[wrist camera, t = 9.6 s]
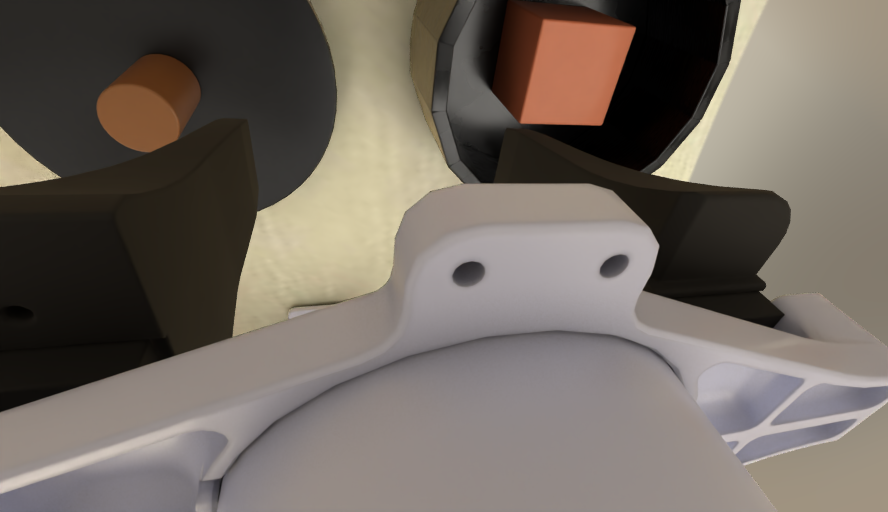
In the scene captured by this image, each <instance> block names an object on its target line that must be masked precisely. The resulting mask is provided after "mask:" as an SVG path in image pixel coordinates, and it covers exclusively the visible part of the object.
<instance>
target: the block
mask: <svg viewBox="0 0 888 512" xmlns="http://www.w3.org/2000/svg"><path fill="white" fill-rule="evenodd" d="M635 30H636V27H635V26H633V25H630V24H628V23H625V22H623V21H620V20H618V19H616V18H613V17H611V16H608V15H606V14H603V13H601V12H598V11H596V10H594V9H591V8H589V7H580V6H570V5H560V4H550V3H540V2H530V1H519V0H508V2H507V8H506V14H505V19H504V25H503V30H502V36H501V42H500V47H499V53H498V59H497V64H496V70H495V75H494V81H493V87H492V93H493V94H494V95H495V96H496V97H497V99H498V100H499V101H500V102H501V103H502V104H503V105H504V106H505V108H506V109H507V110H508V111H509V112H510V113H511V114H512V115H513V117H514V118H515V119H516V120H517V121H518V122H519V123H520V124H557V125H598V126H601V125H602V124H603V121H604V118H605V115H606V112H607V110H608V107H609V104H610V101H611V98H612V95H613V92H614V90H615V87H616V84H617V81H618V78H619V75H620V73H621V70H622V67H623V64H624V61H625V58H626V55H627V53H628V50H629V47H630V44H631V41H632V38H633V36H634V33H635Z"/></svg>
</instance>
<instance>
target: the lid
mask: <svg viewBox="0 0 888 512" xmlns="http://www.w3.org/2000/svg"><path fill="white" fill-rule="evenodd" d="M336 105H337V88H336V79H335V70H334V64H333V60H332V56H331V52H330V47H329V44H328V42H327V39H326V36H325V33H324V31H323V28H322V25H321V23H320V21H319V19H318V17H317V15H316V13H315V11H314V9H313V7H312V5H311V3H310V1H309V0H0V127H1V128H2V129H3V130H4V131H5V132H6V133H7V134H8V135H9V136H10V137H11V138H12V139H13V140H14V141H15V142H16V143H17V144H18V145H19V146H21V147H22V148H23V149H24V150H25V151H26V152H28V153H29V154H30V155H31V156H32V157H33V158H35V159H36V160H37V161H38V162H40V163H41V164H43V165H44V166H45V167H47V168H48V169H50V170H51V171H52V172H54V173H55V174H57V175H58V176H60V177H61V178H64V177H69V176H73V175H77V174H81V173H85V172H89V171H93V170H98V169H102V168H106V167H109V166H113V165H116V164H119V163H122V162H125V161H128V160H131V159H134V158H137V157H140V156H142V155H145V154H147V153H150V152H152V151H154V150H156V149H158V148H161V147H163V146H165V145H167V144H169V143H171V142H174V141H176V140H178V139H180V138H182V137H184V136H186V135H188V134H189V133H191V132H193V131H195V130H197V129H199V128H201V127H203V126H204V125H206V124H208V123H210V122H212V121H215V120H217V119H221V118H232V119H248V124H249V130H250V137H251V143H252V149H253V155H254V161H255V168H256V174H257V180H258V186H259V193H258V205H257V211H260V210H262V209H265V208H267V207H269V206H271V205H274V204H275V203H277V202H279V201H280V200H282V199H283V198H285V197H287V196H288V195H290V194H291V193H292V192H293V191H294V190H296V189H297V188H298V187H299V186H301V185H302V184H303V182H304V181H305V180H306V179H307V178H308V177H309V176H310V175H311V174H312V172H313V171H314V170H315V168H316V167H317V165H318V164H319V162H320V161H321V159H322V157H323V155H324V153H325V151H326V149H327V147H328V144H329V141H330V138H331V135H332V132H333V128H334V122H335V116H336Z"/></svg>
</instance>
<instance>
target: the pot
mask: <svg viewBox="0 0 888 512" xmlns="http://www.w3.org/2000/svg"><path fill="white" fill-rule="evenodd" d="M519 1H530V2H540V3H550V4H560V5H570V6H580V7H589V8H591V9H594V10H596V11H598V12H601V13H603V14H606V15H608V16H611V17H613V18H616V19H618V20H620V21H623V22H625V23H628V24H630V25H633V26H635V27H636V30H635V33H634V36H633V38H632V41H631V44H630V47H629V50H628V53H627V55H626V58H625V61H624V64H623V67H622V70H621V73H620V75H619V78H618V81H617V84H616V87H615V90H614V92H613V95H612V98H611V101H610V104H609V107H608V110H607V112H606V115H605V118H604V121H603V124H602V125H601V126H598V125H557V124H520V123H519V122H518V121H517V120H516V119H515V118H514V117H513V115H512V114H511V113H510V112H509V111H508V110H507V109H506V108H505V106H504V105H503V104H502V103H501V102H500V101H499V100H498V99H497V97H496V96H495V95H494V94H493V93H492V87H493V81H494V75H495V70H496V64H497V59H498V53H499V47H500V42H501V36H502V30H503V25H504V19H505V14H506V8H507V2H508V0H417V4H416V7H415V10H414V13H413V21H412V29H411V37H410V74H411V77H412V80H413V83H414V86H415V90H416V94H417V96H418V99H419V102H420V105H421V108H422V111H423V114H424V117H425V120H426V122H427V124H428V126H429V128H430V130H431V132H432V134H433V136H434V138H435V141H436V143H437V145H438V147H439V149H440V151H441V153H442V155H443V157H444V159H445V161H446V163H447V165H448V167H449V168H450V169H451V170H452V172H453V173H454V174H455V175H456V176H457V177H458V178H459V179H460V180H461V181H462V182H463V183H464V184H494V179H495V175H496V170H497V166H498V161H499V157H500V152H501V148H502V143H503V139H504V134H505V130H506V128H520V129H529V130H533V131H536V132H539V133H541V134H544V135H546V136H549V137H551V138H553V139H556V140H558V141H560V142H562V143H565V144H567V145H569V146H571V147H574V148H576V149H578V150H581V151H583V152H585V153H588V154H590V155H593V156H595V157H598V158H600V159H603V160H605V161H608V162H611V163H614V164H617V165H620V166H623V167H626V168H630V169H633V170H636V171H640V172H643V173H647V174H652V173H653V172H655V171H656V170H657V169H659V168H660V167H661V166H662V165H663V164H664V163H665V162H666V161H667V160H668V159H669V157H670V156H671V155H672V154H673V153H674V152H675V150H676V149H677V148H678V147H679V146H680V144H681V143H682V142H683V141H684V140H685V139H686V137H687V136H688V135H689V134H690V133H691V132H692V130H693V129H694V128H695V127H696V126H697V125H698V123H699V122H700V120H701V119H702V118H703V116H704V114H705V112H706V110H707V108H708V106H709V104H710V102H711V100H712V98H713V96H714V94H715V91H716V89H717V87H718V85H719V83H720V81H721V79H722V77H723V75H724V73H725V71H726V69H727V67H728V65H729V62H730V60H731V54H732V48H733V43H734V37H735V31H736V26H737V20H738V14H739V8H740V3H741V0H519Z"/></svg>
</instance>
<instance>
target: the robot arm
mask: <svg viewBox="0 0 888 512" xmlns="http://www.w3.org/2000/svg"><path fill="white" fill-rule="evenodd" d="M258 193H259V186H258V180H257V174H256V168H255V161H254V155H253V149H252V143H251V137H250V130H249V124H248V119H232V118H221V119H217V120H215V121H212V122H210V123H208V124H206V125H204V126H203V127H201V128H199V129H197V130H195V131H193V132H191V133H189V134H188V135H186V136H184V137H182V138H180V139H178V140H176V141H174V142H171V143H169V144H167V145H165V146H163V147H161V148H158V149H156V150H154V151H152V152H150V153H147V154H145V155H142V156H140V157H137V158H134V159H131V160H128V161H125V162H122V163H119V164H116V165H113V166H109V167H106V168H102V169H98V170H93V171H89V172H85V173H81V174H77V175H73V176H69V177H64V178H58V179H53V180H47V181H41V182H35V183H28V184H21V185H14V186H6V187H0V512H778V511H777V510H776V508H775V507H774V506H773V504H772V503H771V502H770V501H769V499H768V498H767V496H766V495H765V494H764V492H763V491H762V490H761V488H760V487H759V486H758V484H757V483H756V482H755V480H754V479H753V478H752V476H751V475H750V474H749V472H748V471H747V470H746V468H745V467H744V465H747V464H750V463H753V462H756V461H760V460H762V459H766V458H769V457H772V456H775V455H779V454H782V453H786V452H790V451H793V450H797V449H800V448H804V447H808V446H812V445H817V444H821V443H826V442H830V441H835V440H838V439H839V438H841V437H842V436H843V435H845V434H846V433H847V432H849V431H850V430H851V429H853V428H854V427H855V426H857V425H858V424H859V423H861V422H862V421H863V420H865V419H866V418H867V417H869V416H870V415H871V414H873V413H874V412H875V411H877V410H878V409H879V408H881V407H882V406H883V405H884V404H886V403H887V402H888V347H887V346H886V345H884V344H883V343H882V342H881V341H879V340H878V339H877V338H875V337H874V336H873V335H871V334H870V333H869V332H868V331H867V330H865V329H864V328H863V327H861V326H860V325H859V324H858V323H856V322H855V321H854V320H853V319H851V318H850V317H849V316H847V315H846V314H845V313H844V312H842V311H841V310H840V309H839V308H837V307H836V306H835V305H834V304H832V303H831V302H830V301H828V300H827V299H826V298H825V297H823V296H822V295H821V294H820V293H816V292H815V293H802V294H790V295H782V296H779V297H777V298H775V299H773V300H772V301H769V300H768V299H767V298H766V297H765V296H763V295H762V294H761V293H760V292H759V291H763V290H764V289H765V287H766V283H765V282H764V281H763V280H762V279H760V278H759V277H758V276H757V275H756V274H757V273H758V271H759V270H760V269H761V267H762V266H763V265H764V263H765V262H766V261H767V260H768V258H769V257H770V255H771V254H772V253H773V252H774V250H775V249H776V248H777V246H778V245H779V244H780V242H781V240H782V239H783V237H784V236H785V234H786V232H787V229H788V226H789V224H790V215H791V214H790V213H791V209H790V207H789V205H788V202H787V201H786V200H784V199H783V198H781V197H780V196H778V195H777V194H776V193H774V192H773V191H767V190H758V189H745V188H733V187H732V188H731V187H720V186H712V185H705V184H698V183H691V182H685V181H679V180H674V179H669V178H665V177H660V176H656V175H651V174H647V173H643V172H640V171H636V170H633V169H630V168H626V167H623V166H620V165H617V164H614V163H611V162H608V161H605V160H603V159H600V158H598V157H595V156H593V155H590V154H588V153H585V152H583V151H581V150H578V149H576V148H574V147H571V146H569V145H567V144H565V143H562V142H560V141H558V140H556V139H553V138H551V137H549V136H546V135H544V134H541V133H539V132H536V131H533V130H529V129H520V128H506V130H505V134H504V139H503V143H502V148H501V152H500V157H499V161H498V166H497V170H496V175H495V179H494V184H459V185H455V186H451V187H447V188H443V189H438V190H434V191H430V192H429V193H428V194H427V195H425V196H424V197H423V198H422V199H421V200H419V201H418V202H417V203H416V204H414V205H413V206H412V207H411V208H409V209H408V210H407V211H406V212H405V214H404V216H403V219H402V221H401V224H400V226H399V229H398V232H397V234H396V237H395V245H394V260H393V268H392V272H391V276H390V278H389V280H388V281H387V283H386V284H385V285H384V286H383V287H381V288H380V289H378V290H377V291H374V292H371V293H368V294H365V295H362V296H359V297H356V298H353V299H349V300H346V301H343V302H340V303H337V304H333V305H319V306H306V307H295V308H292V309H290V310H289V313H288V319H287V320H284V321H281V322H278V323H275V324H272V325H269V326H266V327H263V328H260V329H257V330H253V331H250V332H247V333H244V334H241V335H238V336H235V337H232V334H233V325H234V316H235V308H236V300H237V292H238V286H239V281H240V276H241V272H242V269H243V265H244V261H245V257H246V254H247V250H248V246H249V243H250V239H251V235H252V231H253V228H254V224H255V220H256V215H257V205H258Z"/></svg>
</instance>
